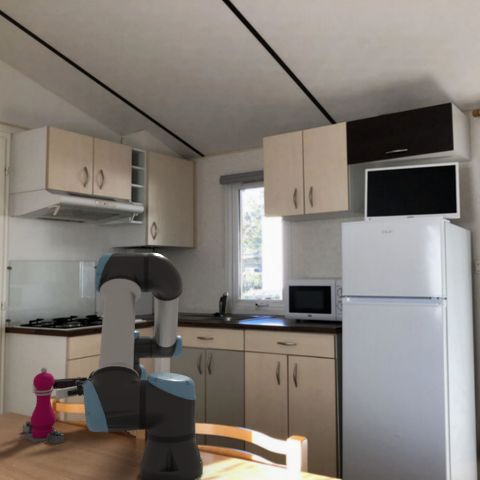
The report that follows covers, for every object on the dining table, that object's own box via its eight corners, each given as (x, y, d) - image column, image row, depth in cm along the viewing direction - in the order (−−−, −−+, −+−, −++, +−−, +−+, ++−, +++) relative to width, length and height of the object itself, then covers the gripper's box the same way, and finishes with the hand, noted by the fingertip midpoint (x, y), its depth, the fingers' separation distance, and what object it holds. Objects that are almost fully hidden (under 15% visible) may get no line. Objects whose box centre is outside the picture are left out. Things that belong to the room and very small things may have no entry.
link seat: (64, 436, 165) (64, 434, 165) (36, 442, 159) (36, 441, 159) (49, 430, 171) (49, 429, 172) (21, 436, 165) (21, 435, 165)
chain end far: (38, 432, 170) (38, 422, 170) (29, 434, 168) (29, 424, 168) (32, 429, 173) (32, 420, 173) (22, 431, 170) (22, 422, 171)
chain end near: (64, 441, 160) (64, 431, 160) (54, 443, 158) (54, 433, 158) (57, 438, 163) (57, 429, 163) (47, 441, 160) (47, 431, 161)
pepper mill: (30, 433, 168) (32, 366, 169) (56, 431, 170) (56, 365, 171) (29, 439, 161) (30, 370, 162) (55, 437, 163) (56, 368, 164)
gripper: (127, 398, 174) (66, 410, 158) (82, 388, 190) (23, 398, 174) (127, 373, 174) (67, 384, 158) (83, 365, 191) (24, 374, 175)
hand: (44, 391), depth 166 cm, fingers open, 13 cm apart
